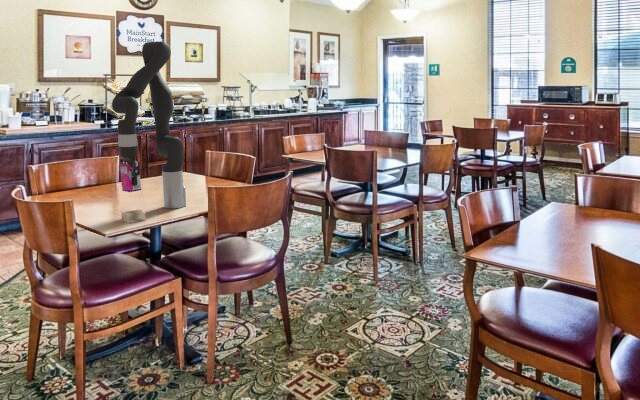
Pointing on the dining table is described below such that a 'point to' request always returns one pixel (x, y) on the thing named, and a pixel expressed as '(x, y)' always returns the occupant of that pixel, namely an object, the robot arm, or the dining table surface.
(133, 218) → the maple block
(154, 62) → the robot arm
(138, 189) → the supplement box
